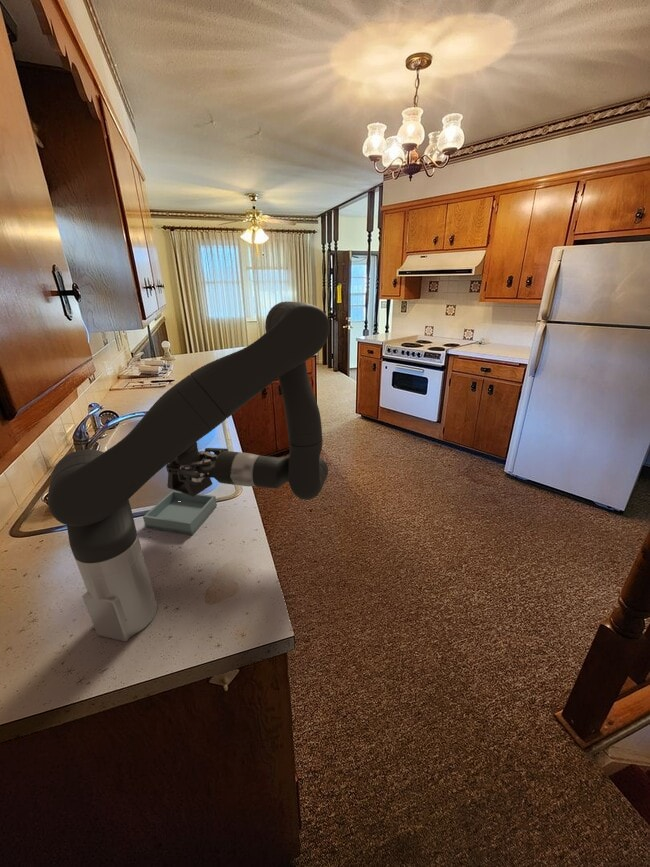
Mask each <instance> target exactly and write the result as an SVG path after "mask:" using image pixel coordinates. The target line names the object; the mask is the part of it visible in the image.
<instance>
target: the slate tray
mask: <svg viewBox="0 0 650 867" xmlns="http://www.w3.org/2000/svg"><path fill="white" fill-rule="evenodd" d="M178 501H181V502H178ZM216 506H217V507H218V504H217V497H216V495H211V494H210V495H209V494H204V493H198V494H197V495H195V496H194V497H193V496H190V495H187V494H184V493H181V492H178V491H176V490H171V491H170V492H169V493H168V494H167V495H166V496H165V497H163V498H162V499H161V500H160V501H158V503H157V504H155V505H154V506H153V507H151V509H150V510H149V511H147V512H146V513H145V514H144V515H142V519H143V523H144V526H145V529H149V530H156V531H163V532H169V533H175V534H181V535H188V536H193V535H194V534H195V533H196V532H197V531H198V530H199V528H200V527H201V526H202V525H203V524H204V523H205V521H206V520H208V518H209V517H210V516H211V515H212V514H213V512H214V511H215V510H216V509H217V507H216ZM215 508H216V509H215ZM214 509H215V510H214ZM213 510H214V511H213ZM209 515H210V516H209Z"/></svg>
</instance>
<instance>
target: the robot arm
mask: <svg viewBox="0 0 650 867" xmlns="http://www.w3.org/2000/svg"><path fill="white" fill-rule="evenodd" d="M264 327H265V333H264V334H263V335H261V336H260V337H259V338H257V340H255V341H254V342H252V343H250V344H248V345H247V346H246V347H243V348H242V349H240V350H237V351H235V352H232V353H230V354H227V355H224V356H222V357H219V358H217V359H215V360H213V361H210V362H209V363H206V364H204V365H202V366H201V367H199V368H197V369H196V370H194V371H192V372H191V373H190V374H188V375H186V376H185V377H184V378H183V379H181V380H180V381H178V382H177V383H176V384H174V385H173V386H172V387H171V388H169V389H168V390H167V391H166V392H164V393H163V394H162V395H161V396H160V397H159V398H158V399H157V400H156V401H155V402H154V403H153V404H152V406H151V407H150V408H149V409H148V410H147V411H146V413H145V414H144V416H142V418H141V419H140V420H139V422H137V424H136V425H135V426H134V427H133V429H131V431H129V433H128V434H127V435H126V436H124V437H123V438H122V439H121V440H120V441H118V442H117V443H116V444H115V445H113V446H111V447H110V448H108V449H107V450H105V451H102V450H97V449H91V448H89V449H85V448H84V449H79V450H76V451H75V450H74V451H72V452H70V453H68V454H66V455H65V456H63V457H62V458H60V460H58V462H57V463H56V464H55V465H54V468H53V470H52V472H51V477H50V481H49V486H48V492H47V503H48V504H47V505H48V508H49V511H50V512H49V513H51V515H52V517H53V518H54V519H55V520H56V521H58V522H59V523H61V524H63V525H65V526H66V530H67V535H68V544H69V546H70V549H71V552H72V555H73V558H74V560H75V562H76V565H77V568H78V570H79V574H80V576H81V579H82V581H83V584H84V586H85V589H86V592H85V593H84V594H83V595H82V600H83V601H84V604H85V607H86V610H87V612H88V614H89V617H90V619H91V622H92V624H93V627H94V629H95V632H96V635H97V636H101V637H104V638H109V639H113V640H117V641H120V642H121V641H122V642H128V641H129V639H130V638H131V637H132V636H134V635H136V634H137V633H139V632H141V631H142V630H143V629H145V628H146V627H147V626H148V625H149V624H150V623H151V622H152V620H153V619H154V618H155V616H156V614H157V611H158V603H157V599H156V598H155V597H156V596H155V592H154V589H153V585H152V582H151V578H150V575H149V571H148V567H147V563H146V561H145V558H144V553H143V550H142V546H141V542H140V538H139V536H138V532H137V528H136V524H135V520H134V515H133V511H132V507H131V503H130V499H131V498H132V497H133V496H134V495H135V494H136V493H137V492H138V491H139V490H140V489H141V488H142V487H143V486H144V485H145V484H147V482H149V480H151V479H152V478H153V477H154V476H155V475H156V474H157V473H158V472H160V471H161V470H162V469H163V468H166V472H167V474H168V473H170V474H178V478H179V481H181V482H185V483H190V484H194V485H201V484H202V481H201V480H203V479H204V478H210V479H212V478H214V479H215V481H217V482H218V483H220V484H225V485H226V484H227V485H234V486H240V487H256V488H257V487H258V488H266V489H279V488H281V487H282V486H283V485H284V484H286V483H288V485H289V487H290V490H291V492H292V493H293V494H294V496H296V497H297V498H298V499H300V500H302V501H303V500H304V501H309V500H313V499H314V498H316V497H317V496H318V495H319V494H320V493H321V491H322V489H323V487H324V485H325V482H326V479H327V477H328V475H329V467H328V466H329V465H328V464H327V462H325V461H324V459H322V457H320V456H321V453H322V450H323V449H322V448H323V430H322V429H323V428H322V420H321V419H322V418H321V417H322V416H321V413H320V410H319V405H318V403H317V399H316V396H315V394H314V391H313V388H312V385H311V382H310V381H311V380H310V378H309V375H308V374H309V373H308V368H307V362H306V361H308V360H309V359H311V358H312V357H314V356H315V355H317V354H318V353H319V352H320V350H322V349H323V347H324V346H325V344H326V343H327V341H328V338H329V335H330V330H331V329H330V328H331V327H330V320H329V317H328V316H327V314H326V312H324V311H323V310H322V309H321V308H320V307H318V306H317V305H315V304H311V303H308V302H302V301H301V302H300V301H280V302H278V303H276V304H274V306H272V307H271V309H269V311H268V313H267V315H266V319H265V325H264ZM276 380H278V381H279V385H280V391H281V396H282V401H283V405H284V406H283V407H284V414H285V420H286V429H287V430H286V431H287V437H288V444H289V455H287V456H281V457H276V456H267V455H259V454H254V453H249V452H242V451H229V449H228V448H225V447H224V448H222V447H221V448H219V447H205V448H204V450H198V451H199V454H200V456H201V458H202V461H199V462H192V463H191V464H189V465H177V464H170V462H171V461H172V460H174V459H175V458H176V457H178V456H179V455H180V454H182V453H183V452H184V451H185V450H187V449H188V448H189V447H190V446H192V445H193V444H194V443H196V442H197V443H198V441H200V440H201V439H202V438H203V437H205V436H206V435H208V434H210V433H211V432H212V431H213V430H214V429H216V428H218V426H220V425H221V424H222V423H223V422H225V421H226V420H227V419H229V418H230V417H231V416H232V415H233V414H235V412H237V411H239V409H240V408H242V407H243V406H244V405H246V404H247V403H248V402H249V401H251V400H252V399H253V398H255V397H256V396H257V395H259V394H260V393H261V392H262V391H263V390H264V389H266V388H267V387H268V386H270V385H271V384H273V382H275V381H276ZM195 466H197V470H198V472H199V473H198V472H197V471H195ZM186 469H191V471H187V470H186Z"/></svg>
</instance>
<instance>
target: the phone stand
mask: <svg viewBox="0 0 650 867" xmlns="http://www.w3.org/2000/svg"><path fill="white" fill-rule="evenodd" d="M199 451H200V450H199V448H198V441H197V442H196V443H194V444H193V445H192V446H190V447H189V448H188V449H187V450H185V451H184V452H183V453H182V454H180V455H179V456H178V457H176V458H175V459H174V460H172V461H171V462H170V464H177V465H189V464H191V463H192V462H199V461H202V458H201V456H200V454H199ZM186 470H187V471H191V469H186ZM195 471H197V472H198V470H197V466H195ZM198 473H199V472H198ZM201 481H202V484H201V485H194V484H190V483H185V482H181V481H179V478H178V474H170V473H168V472H167V489H170V490H172V491H178V492H181V493H184V494H187V495H190V496H193V497H194V496H195V495H197V494H201V492H203V491H205V490H207V488H209V487H211V486H212V485H213V482H212V478H204V479H203V480H201Z"/></svg>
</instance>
